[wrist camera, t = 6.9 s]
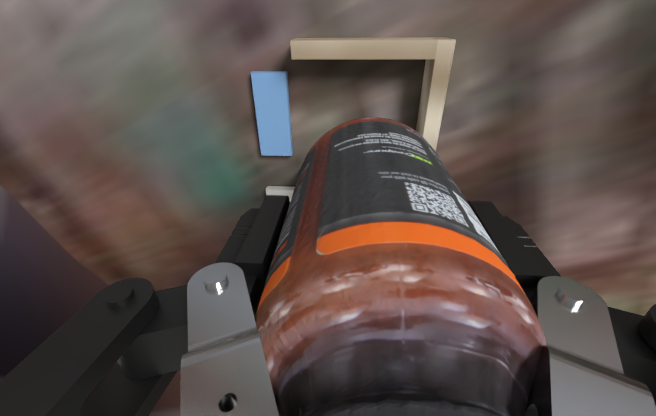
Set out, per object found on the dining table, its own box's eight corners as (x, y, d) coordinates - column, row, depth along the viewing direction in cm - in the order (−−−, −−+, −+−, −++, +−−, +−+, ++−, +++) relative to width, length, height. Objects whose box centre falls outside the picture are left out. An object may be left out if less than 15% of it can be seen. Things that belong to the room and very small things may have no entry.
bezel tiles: (253, 70, 22) (250, 72, 21) (287, 71, 21) (285, 72, 21) (282, 306, 34) (281, 311, 34) (303, 308, 34) (303, 312, 34)
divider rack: (296, 38, 20) (290, 40, 18) (445, 37, 20) (456, 39, 18) (311, 320, 35) (309, 340, 33) (397, 325, 34) (400, 345, 32)
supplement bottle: (319, 243, 16) (265, 610, 6) (284, 129, 13) (65, 492, 3) (442, 226, 15) (618, 637, 5) (436, 97, 12) (844, 493, 2)
